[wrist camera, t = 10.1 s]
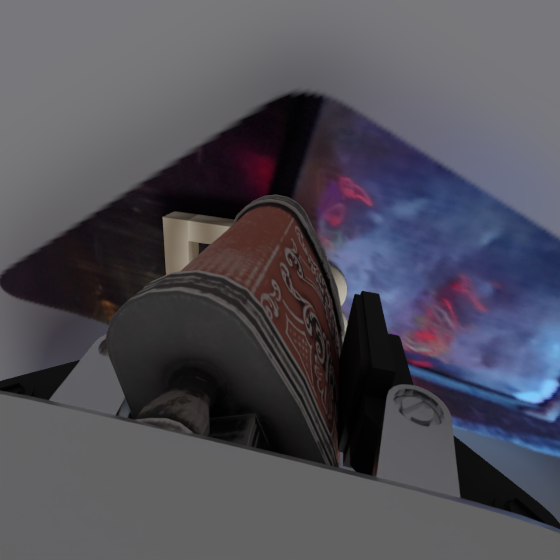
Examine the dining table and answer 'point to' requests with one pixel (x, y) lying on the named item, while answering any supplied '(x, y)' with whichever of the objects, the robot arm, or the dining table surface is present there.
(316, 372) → the lighter
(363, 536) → the robot arm
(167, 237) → the notched board
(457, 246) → the dining table surface
